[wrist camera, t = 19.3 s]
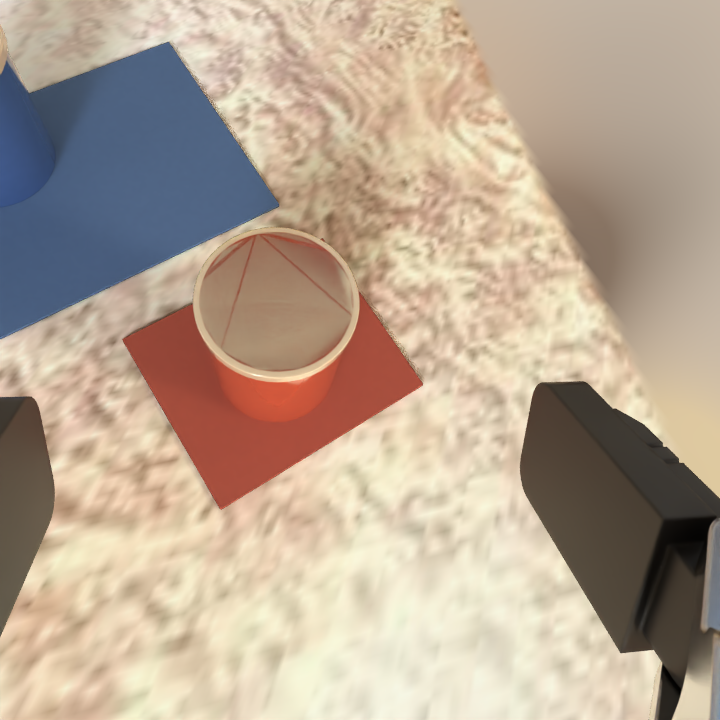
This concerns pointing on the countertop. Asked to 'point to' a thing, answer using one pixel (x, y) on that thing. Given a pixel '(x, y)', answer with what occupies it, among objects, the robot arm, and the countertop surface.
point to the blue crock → (20, 137)
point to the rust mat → (251, 436)
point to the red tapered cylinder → (275, 320)
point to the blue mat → (122, 185)
